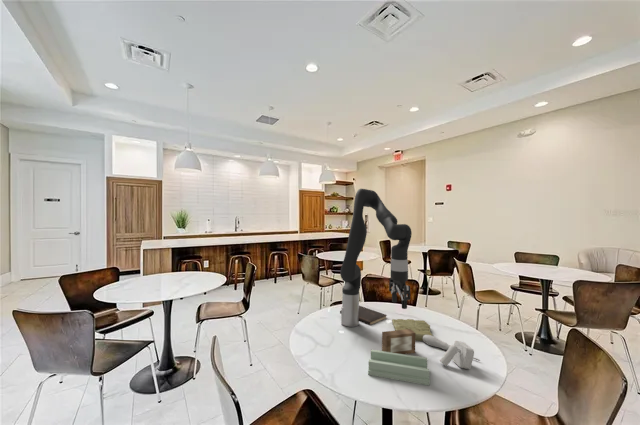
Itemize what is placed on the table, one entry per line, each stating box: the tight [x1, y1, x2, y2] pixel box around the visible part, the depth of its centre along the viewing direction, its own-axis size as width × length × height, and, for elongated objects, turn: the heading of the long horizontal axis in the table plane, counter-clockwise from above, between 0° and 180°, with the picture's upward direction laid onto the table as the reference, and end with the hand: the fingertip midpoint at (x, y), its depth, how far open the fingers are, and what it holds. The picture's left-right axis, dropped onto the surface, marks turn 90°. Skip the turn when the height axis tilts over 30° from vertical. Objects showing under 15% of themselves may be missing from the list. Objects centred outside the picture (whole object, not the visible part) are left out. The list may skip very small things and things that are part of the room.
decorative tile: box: [391, 318, 433, 342], centre depth 144 cm, size 19×20×4 cm
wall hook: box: [439, 340, 475, 370], centre depth 112 cm, size 8×10×10 cm
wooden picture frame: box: [381, 329, 416, 355], centre depth 122 cm, size 14×4×9 cm, turn 103°
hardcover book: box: [339, 305, 388, 326], centre depth 165 cm, size 16×23×2 cm
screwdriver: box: [422, 335, 481, 362], centre depth 124 cm, size 5×25×4 cm, turn 42°
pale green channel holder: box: [367, 349, 431, 386], centre depth 108 cm, size 22×12×4 cm, turn 73°
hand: (399, 305), depth 123 cm, fingers open, 8 cm apart
